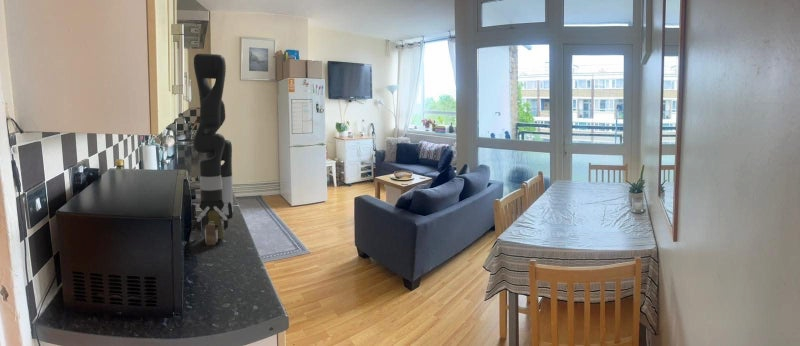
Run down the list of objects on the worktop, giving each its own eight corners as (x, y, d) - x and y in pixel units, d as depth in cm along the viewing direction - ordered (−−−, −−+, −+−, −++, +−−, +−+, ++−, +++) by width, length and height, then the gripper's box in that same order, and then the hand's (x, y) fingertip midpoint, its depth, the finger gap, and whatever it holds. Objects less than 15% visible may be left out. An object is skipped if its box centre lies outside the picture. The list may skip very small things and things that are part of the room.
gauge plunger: (206, 239, 169) (205, 222, 168) (218, 238, 170) (218, 221, 169) (204, 243, 164) (204, 225, 163) (217, 242, 166) (217, 225, 165)
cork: (227, 235, 175) (226, 207, 173) (217, 240, 169) (216, 211, 167) (213, 234, 176) (212, 206, 174) (202, 238, 170) (201, 210, 169)
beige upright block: (207, 240, 168) (207, 221, 167) (216, 240, 169) (215, 220, 168) (206, 245, 163) (205, 225, 162) (215, 244, 164) (214, 224, 163)
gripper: (232, 185, 175) (233, 226, 177) (191, 186, 171) (193, 228, 173) (231, 188, 168) (232, 231, 170) (188, 190, 163) (190, 234, 166)
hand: (212, 230), depth 172 cm, fingers open, 8 cm apart
